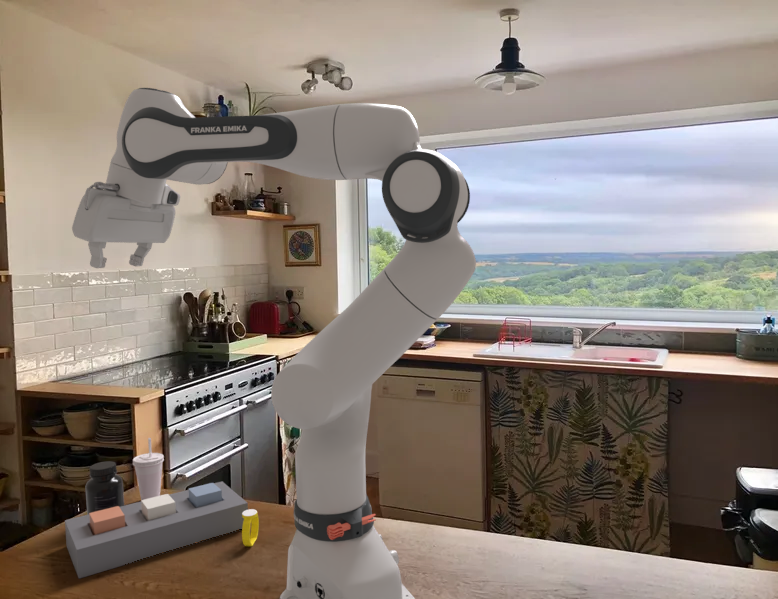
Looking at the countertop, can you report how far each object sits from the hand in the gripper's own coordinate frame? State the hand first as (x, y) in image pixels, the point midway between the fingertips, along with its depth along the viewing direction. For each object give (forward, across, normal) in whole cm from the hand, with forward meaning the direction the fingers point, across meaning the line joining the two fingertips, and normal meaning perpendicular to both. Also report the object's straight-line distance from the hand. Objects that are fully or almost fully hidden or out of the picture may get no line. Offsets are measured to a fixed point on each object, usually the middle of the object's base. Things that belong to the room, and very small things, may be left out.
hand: (117, 266), depth 102 cm
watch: (+44, +10, -33) cm, 56 cm away
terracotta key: (+49, +2, -9) cm, 50 cm away
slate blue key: (+45, +16, -20) cm, 52 cm away
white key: (+47, +9, -15) cm, 50 cm away
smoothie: (+54, +23, -4) cm, 59 cm away
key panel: (+50, +9, -16) cm, 53 cm away
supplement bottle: (+54, +12, -2) cm, 56 cm away
